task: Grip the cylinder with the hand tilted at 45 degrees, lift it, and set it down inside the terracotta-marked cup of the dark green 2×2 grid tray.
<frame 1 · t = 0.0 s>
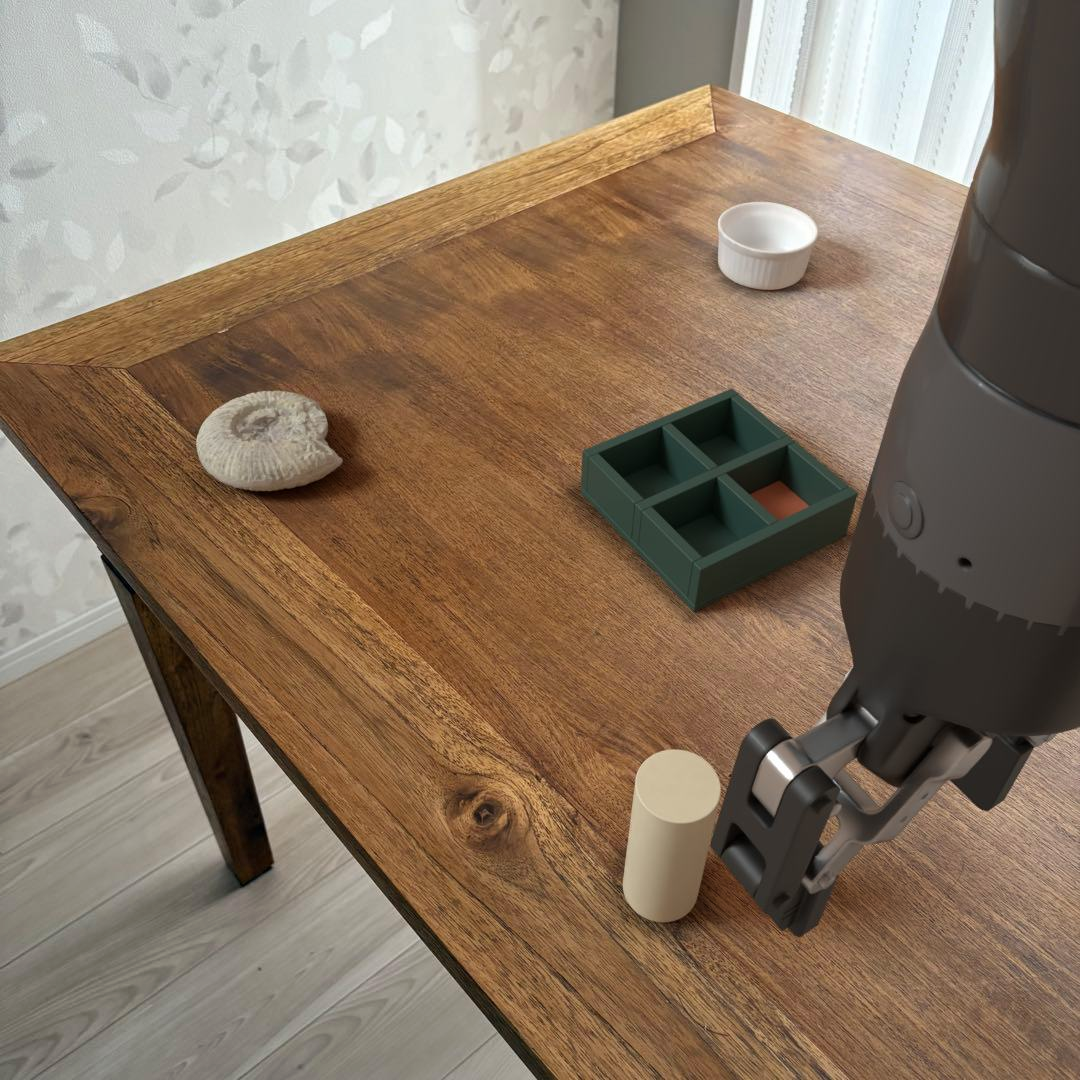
hand: (881, 845, 37), 21 cm above the table, tool pointing down, fingers open, 8 cm apart
cylinder: (660, 886, 59), on the table
fossil: (274, 459, 83), on the table
grid: (710, 514, 79), on the table
ramekin: (760, 270, 102), on the table
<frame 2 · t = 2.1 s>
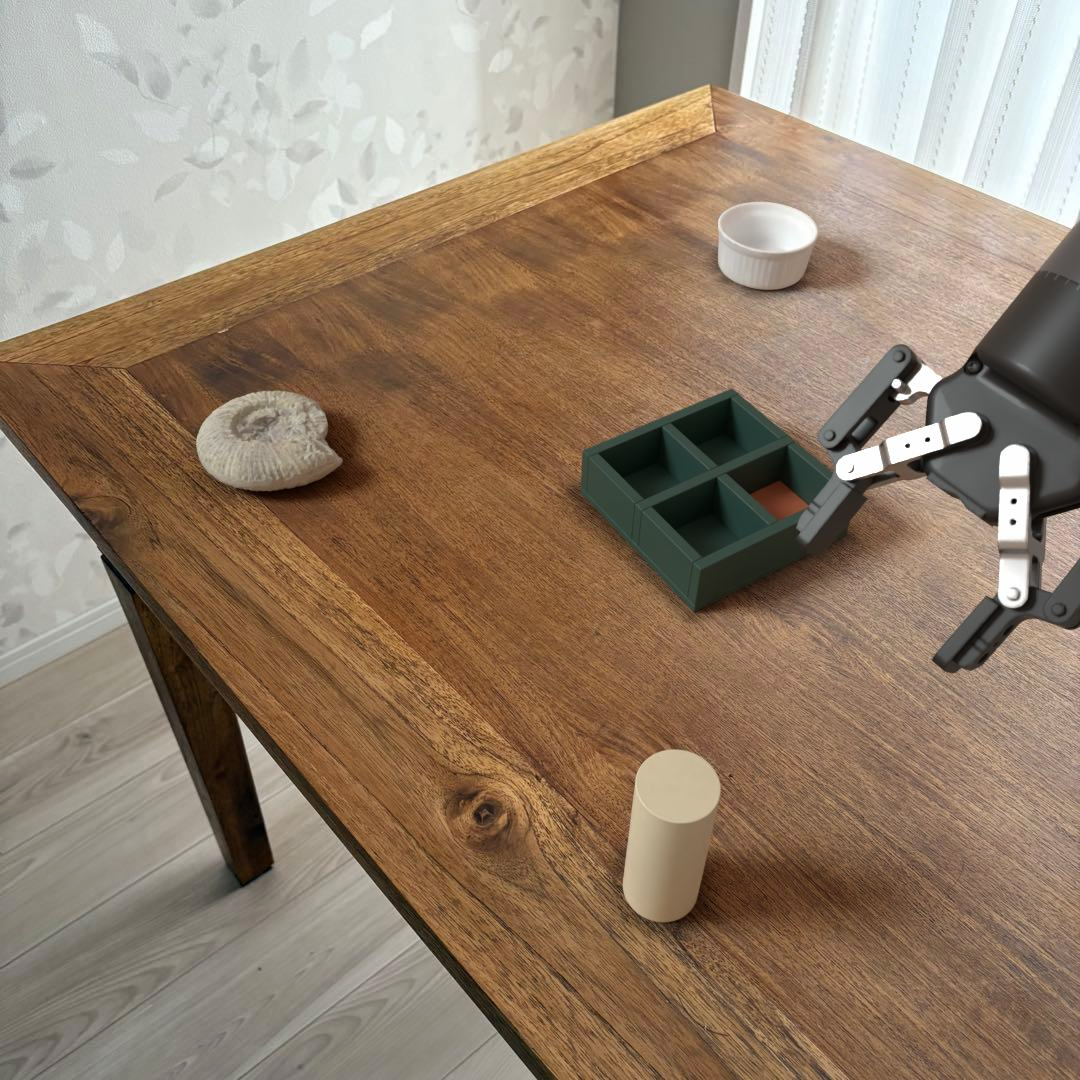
hand: (871, 606, 52), 16 cm above the table, tool tilted 45°, fingers open, 8 cm apart
nothing on the table moved.
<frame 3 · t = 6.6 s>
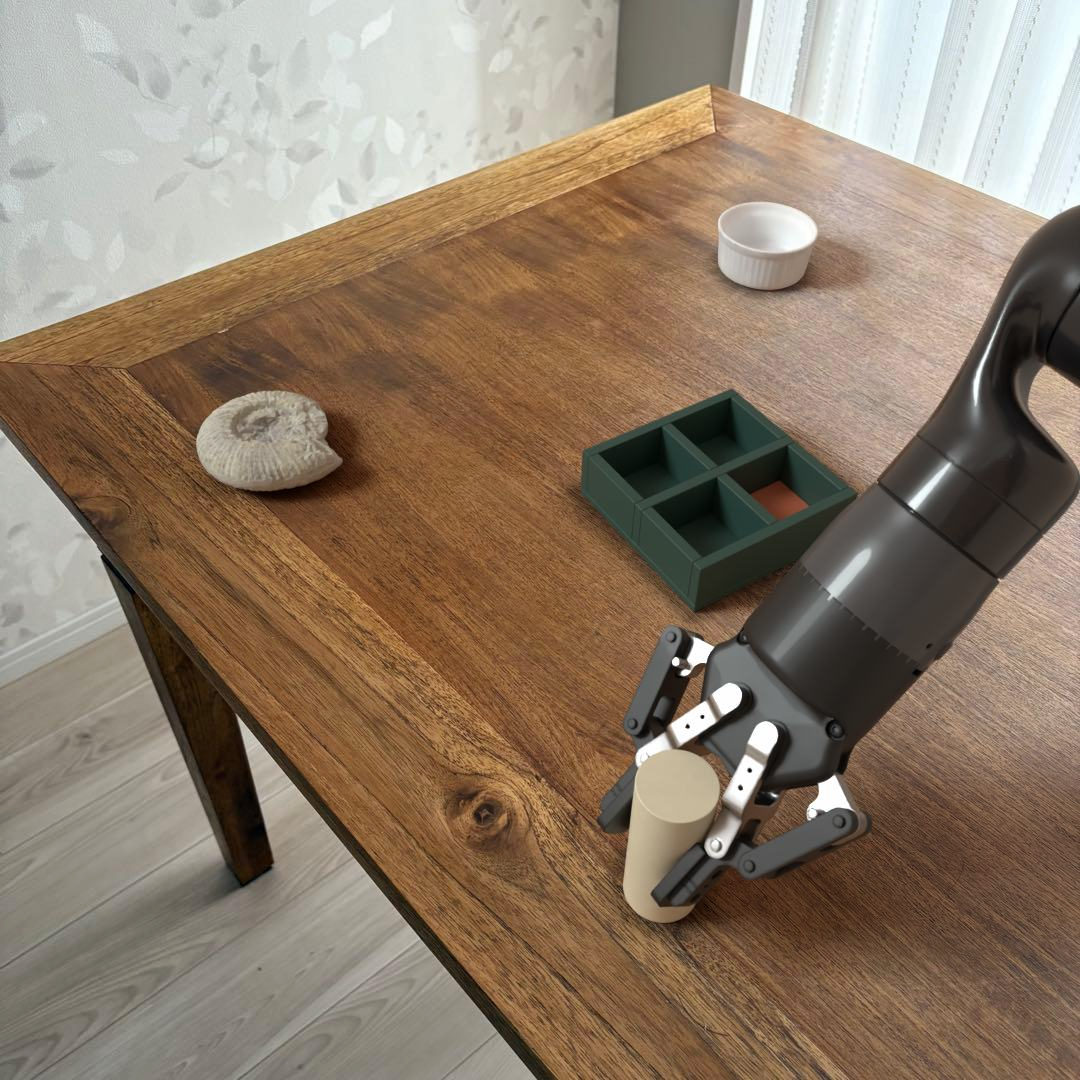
hand: (636, 863, 55), 5 cm above the table, tool tilted 45°, fingers closed on cylinder, 4 cm apart
cylinder: (660, 887, 59), on the table, touching gripper
everything else where it was.
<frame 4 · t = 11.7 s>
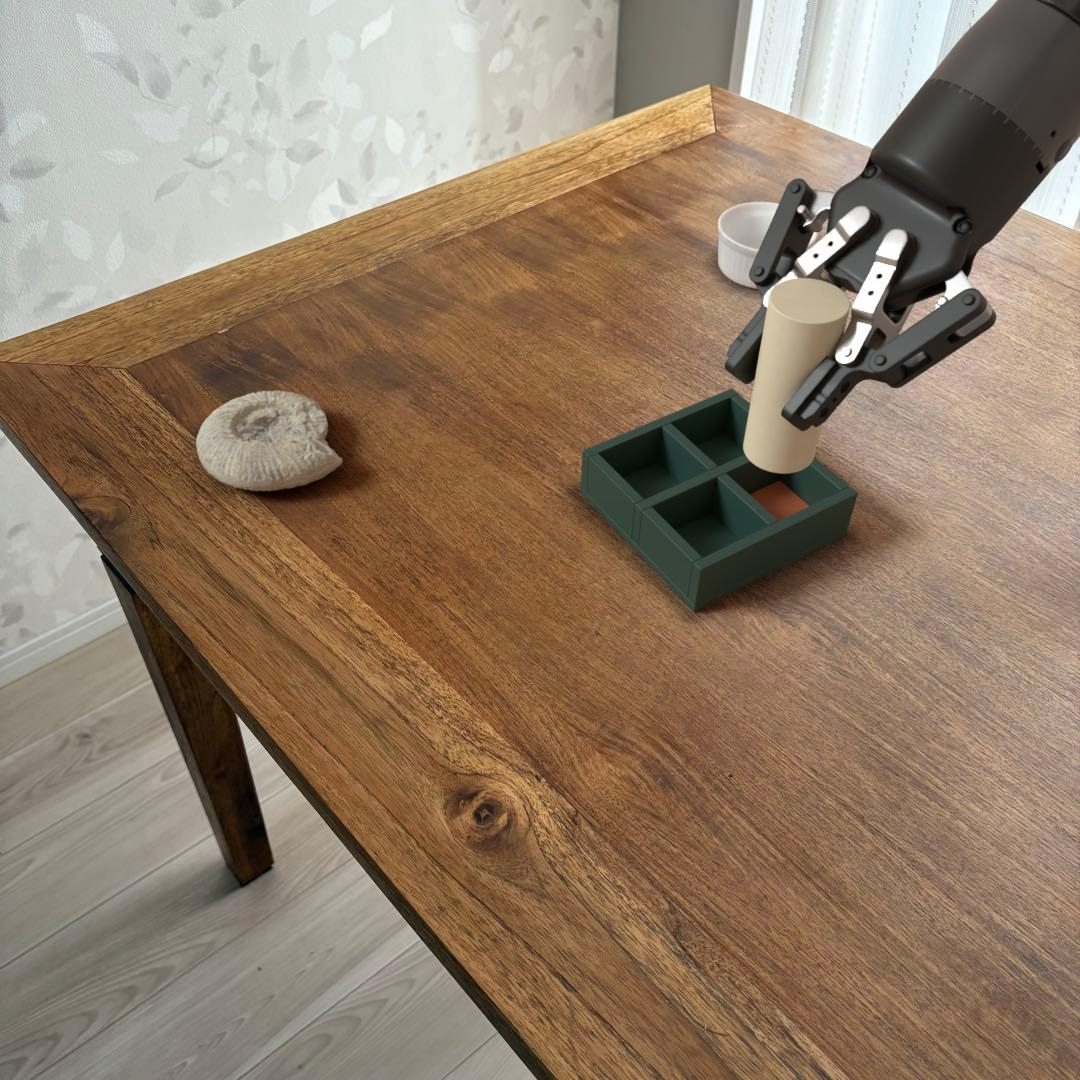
hand: (764, 398, 59), 18 cm above the table, tool tilted 45°, fingers closed on cylinder, 4 cm apart
cylinder: (778, 450, 63), point 14 cm above the table, touching gripper
everything else where it was.
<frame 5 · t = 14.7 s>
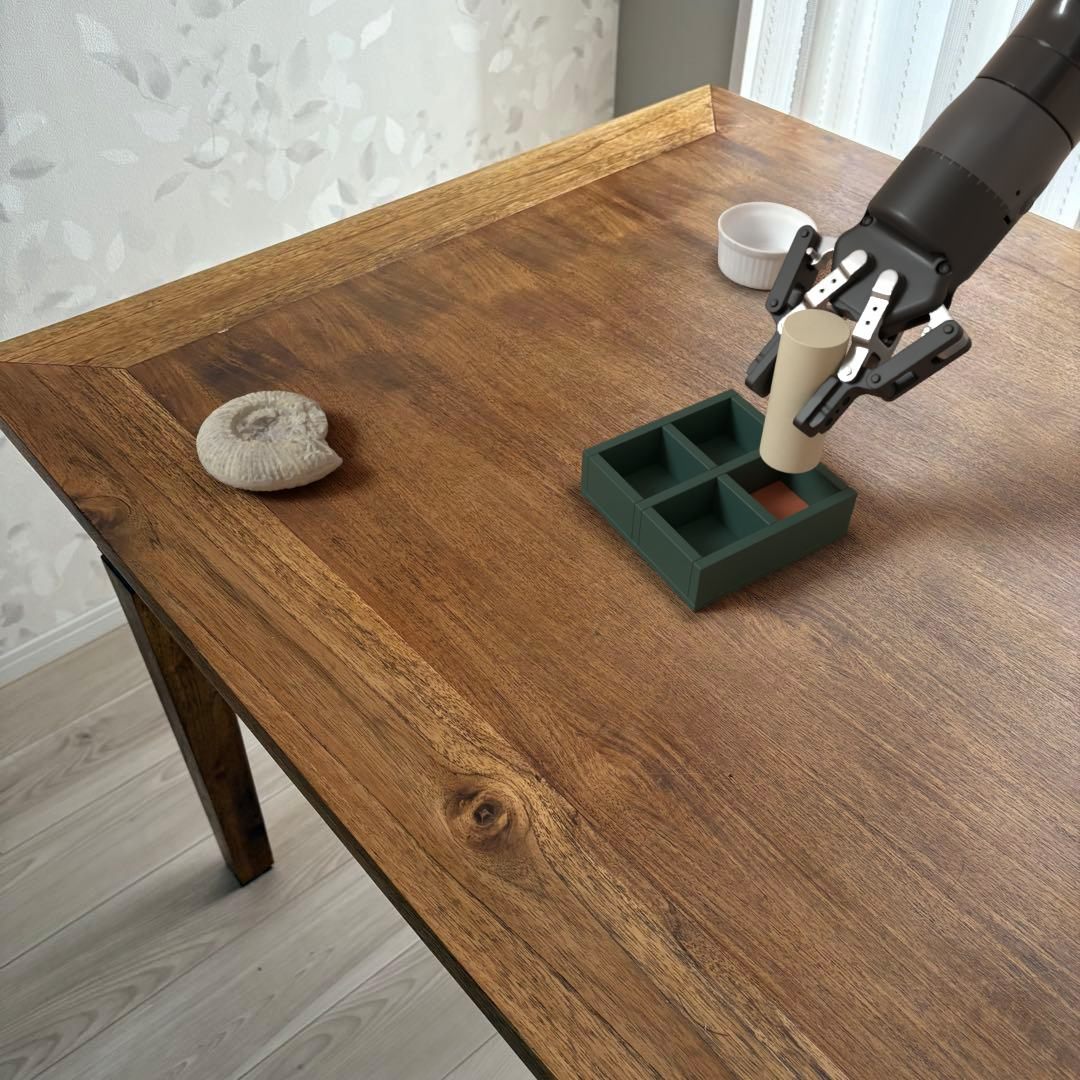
hand: (778, 410, 70), 11 cm above the table, tool tilted 45°, fingers closed on cylinder, 4 cm apart
cylinder: (789, 453, 74), point 7 cm above the table, touching gripper
everything else where it was.
when the fingers open (5 cm above the table, at t = 16.8 s): cylinder stays where it is, resting on grid.
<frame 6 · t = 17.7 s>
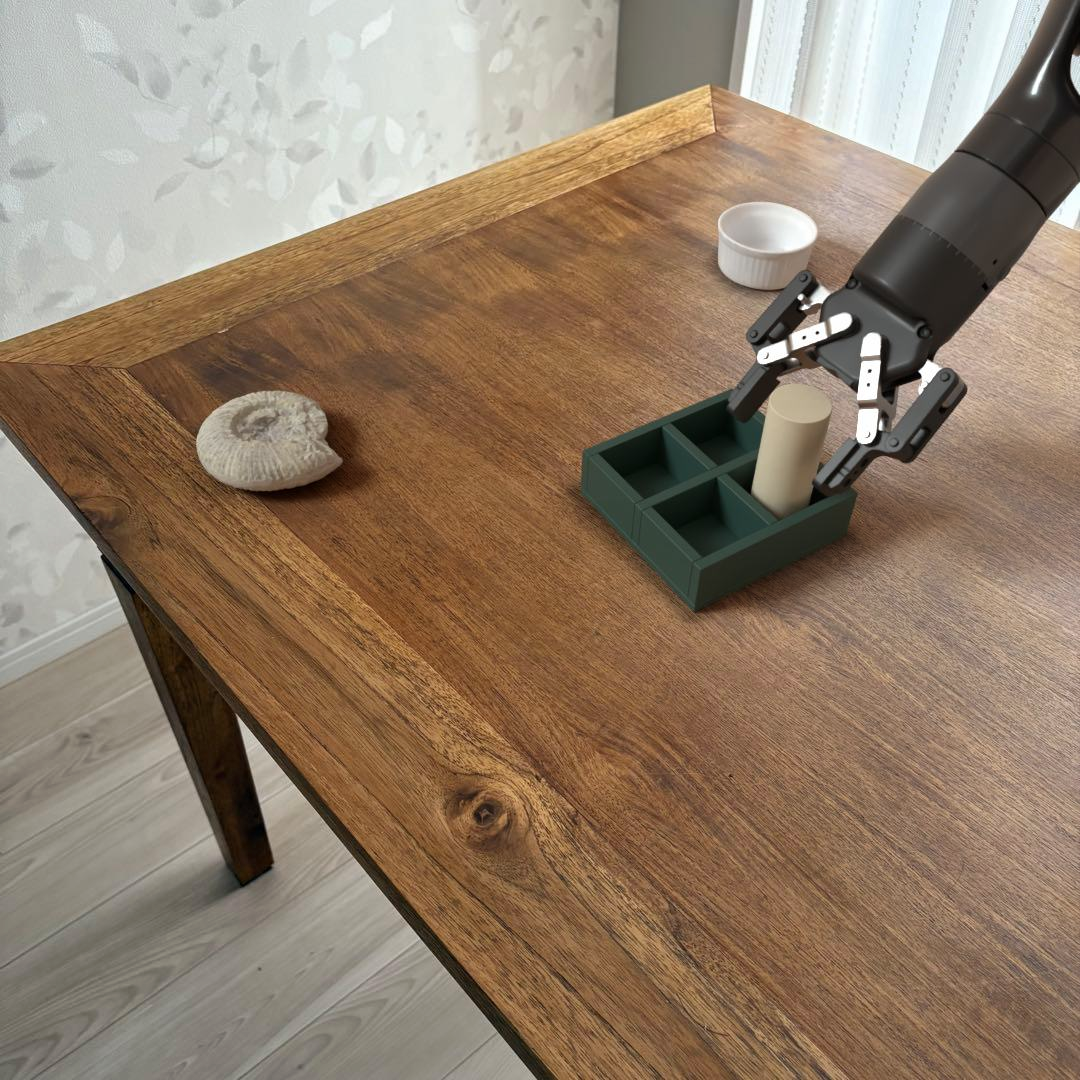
hand: (776, 453, 73), 7 cm above the table, tool tilted 45°, fingers open, 8 cm apart
cylinder: (776, 515, 78), point 1 cm above the table, touching grid
everything else where it was.
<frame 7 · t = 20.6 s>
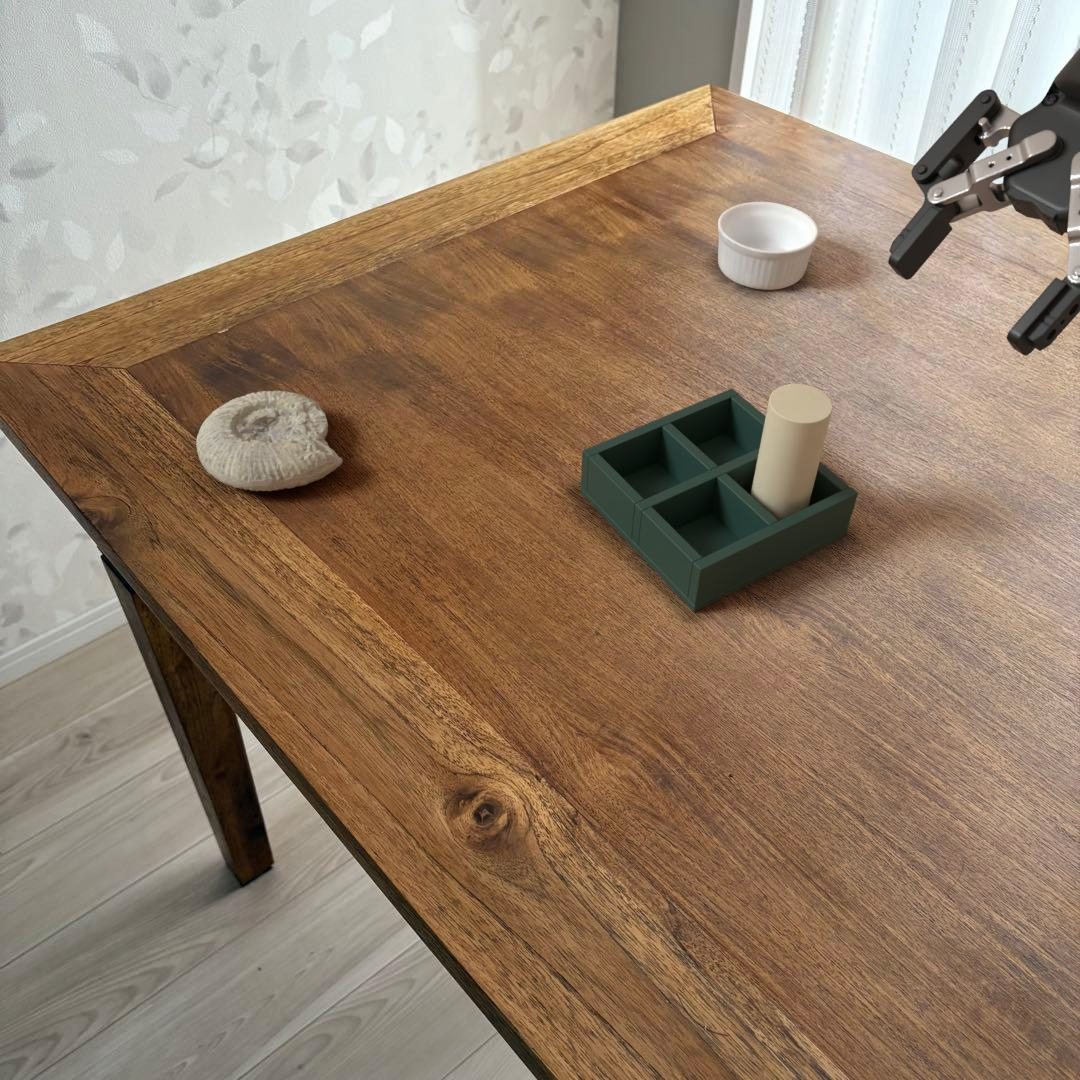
hand: (954, 308, 60), 21 cm above the table, tool tilted 45°, fingers open, 8 cm apart
nothing on the table moved.
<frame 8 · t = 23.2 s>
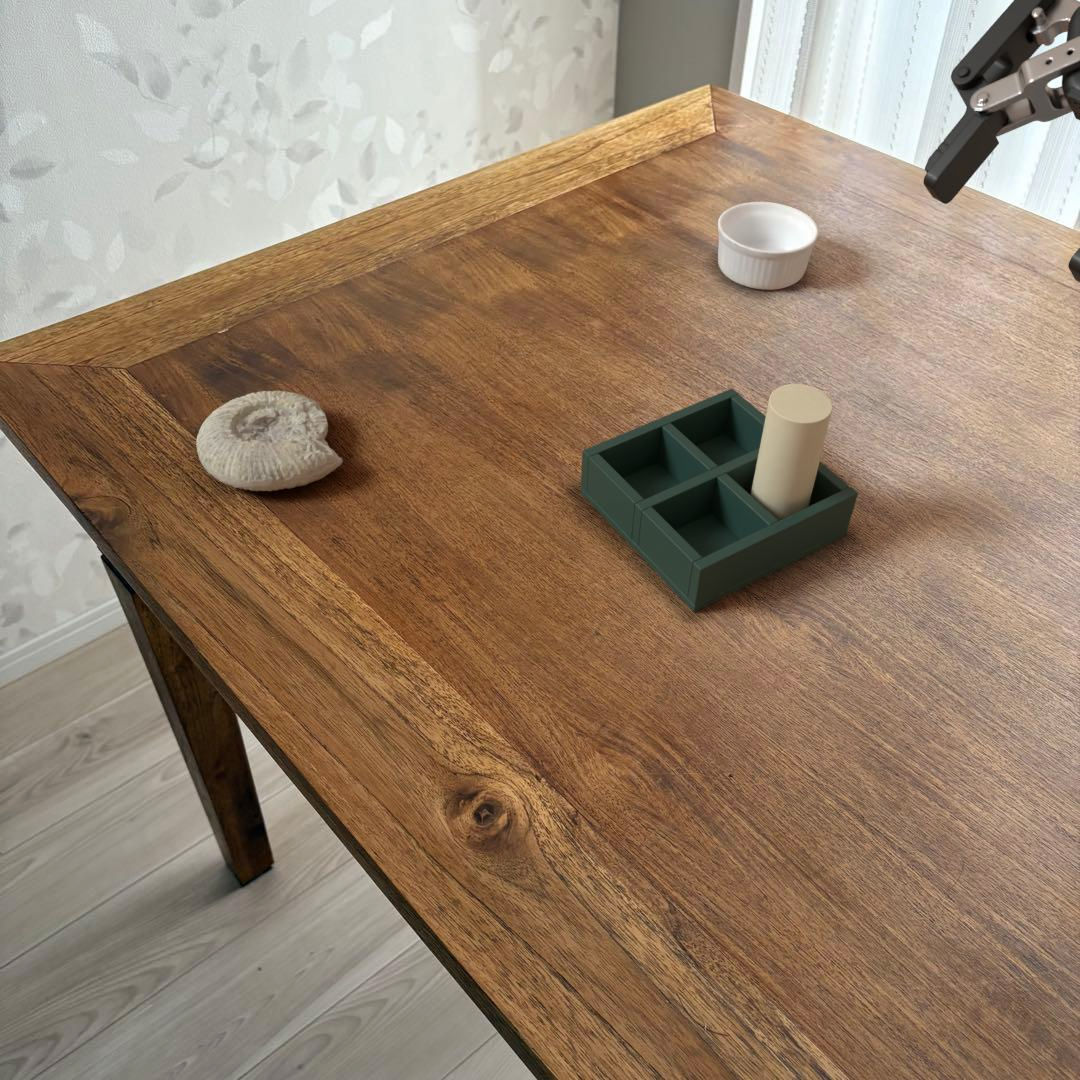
hand: (1002, 233, 51), 29 cm above the table, tool tilted 45°, fingers open, 8 cm apart
nothing on the table moved.
at the end: cylinder 0.1 cm from the target spot in the grid, point 0.8 cm above the grid's base; cylinder tilted 0°; the gripper is holding nothing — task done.
